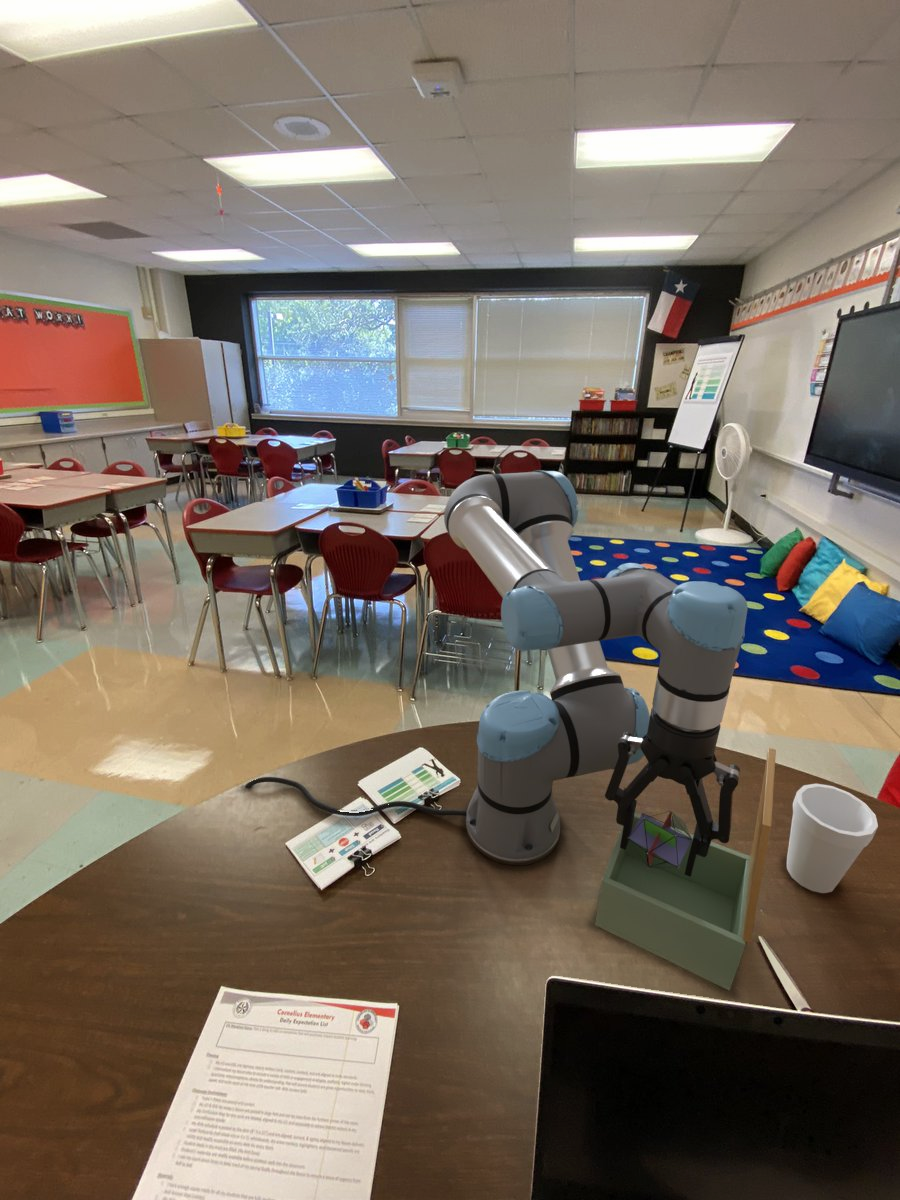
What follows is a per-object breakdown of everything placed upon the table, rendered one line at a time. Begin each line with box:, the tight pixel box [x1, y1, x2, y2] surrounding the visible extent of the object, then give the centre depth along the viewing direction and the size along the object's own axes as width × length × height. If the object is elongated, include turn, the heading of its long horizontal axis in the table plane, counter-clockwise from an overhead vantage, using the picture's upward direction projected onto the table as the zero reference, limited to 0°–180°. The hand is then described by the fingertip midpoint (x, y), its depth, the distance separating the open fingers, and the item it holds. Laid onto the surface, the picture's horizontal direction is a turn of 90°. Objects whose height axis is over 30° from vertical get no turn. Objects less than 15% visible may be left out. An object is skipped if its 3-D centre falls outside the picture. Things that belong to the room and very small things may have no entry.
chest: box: [594, 812, 751, 992], centre depth 73 cm, size 17×14×9 cm
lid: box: [743, 747, 777, 944], centre depth 64 cm, size 17×14×1 cm
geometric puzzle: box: [628, 809, 692, 868], centre depth 71 cm, size 7×7×8 cm
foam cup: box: [786, 782, 879, 894], centre depth 77 cm, size 10×9×13 cm
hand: (656, 854), depth 72 cm, fingers closed on geometric puzzle, 7 cm apart
